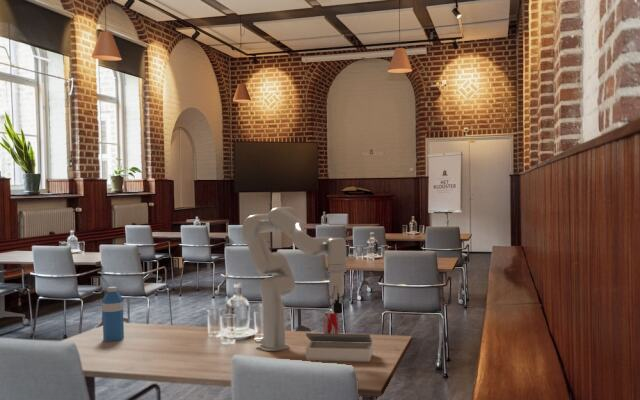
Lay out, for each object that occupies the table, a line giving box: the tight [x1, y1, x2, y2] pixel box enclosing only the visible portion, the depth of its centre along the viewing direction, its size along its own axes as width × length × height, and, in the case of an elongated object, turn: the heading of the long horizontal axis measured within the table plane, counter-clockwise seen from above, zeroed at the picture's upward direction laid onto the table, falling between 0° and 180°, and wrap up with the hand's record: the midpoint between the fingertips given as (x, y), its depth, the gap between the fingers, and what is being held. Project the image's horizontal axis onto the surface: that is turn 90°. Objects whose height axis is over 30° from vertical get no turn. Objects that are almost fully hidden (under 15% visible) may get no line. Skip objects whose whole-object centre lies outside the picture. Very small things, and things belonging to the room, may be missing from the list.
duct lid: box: [305, 332, 373, 344], centre depth 260 cm, size 26×11×1 cm, turn 80°
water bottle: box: [101, 286, 125, 342], centre depth 302 cm, size 9×9×25 cm
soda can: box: [323, 310, 340, 334], centre depth 296 cm, size 7×7×12 cm
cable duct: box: [305, 341, 373, 363], centre depth 260 cm, size 26×11×5 cm, turn 80°
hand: (337, 312), depth 257 cm, fingers closed
